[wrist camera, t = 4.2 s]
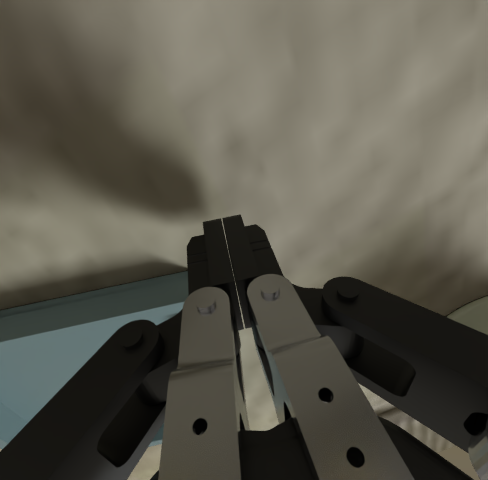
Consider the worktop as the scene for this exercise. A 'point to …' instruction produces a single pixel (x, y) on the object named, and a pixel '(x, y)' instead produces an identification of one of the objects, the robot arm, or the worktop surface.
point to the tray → (71, 341)
